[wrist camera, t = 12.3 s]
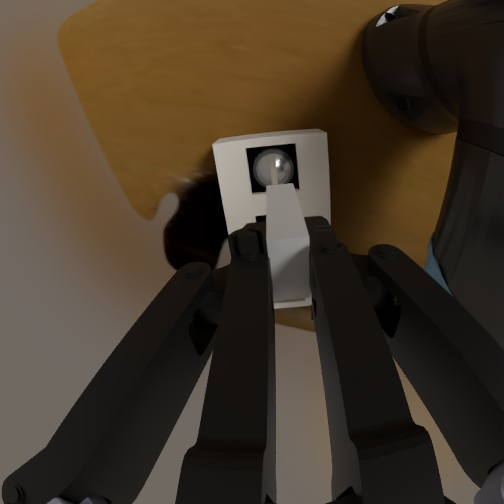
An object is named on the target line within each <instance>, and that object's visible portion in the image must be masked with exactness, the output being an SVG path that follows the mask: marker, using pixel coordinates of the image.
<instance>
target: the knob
mask: <svg viewBox="0 0 504 504" xmlns="http://www.w3.org/2000/svg"><path fill="white" fill-rule="evenodd" d="M293 173H294V166H293V163H292V161H291V158H290V156H289V154H288V152H287V151H286V150H285V149H284V148H283V147H281V146H279V145H271V146H263V147H261V148H260V149H259V150H258V151H257V153H256V155H255V159H254V165H253V174H254V177H255V179H256V180H257V182H258V183H259V184H260V185H262V186H264V187H266V186H268V185H278V184H288V183H289V181H290V180H291V178H292V176H293Z"/></svg>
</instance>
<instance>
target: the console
mask: <svg viewBox="0 0 504 504" xmlns="http://www.w3.org/2000/svg"><path fill="white" fill-rule="evenodd" d="M293 143H295V146H296V156H297V168H298V180H299V189H295V191H296V194H297V198H298V201H299V204H300V207H301V210H302V214H303V217H311V216H323V217H324V218H326V219H327V220H328V222H329V224H330V226H331V219H330V179H329V159H328V143H327V132H324V131H322V130H320V129H302V130H289V131H277V132H267V133H258V134H250V135H242V136H235V137H228V138H221V139H218V140H217V141H216V142H215V143H213V144H212V146H213V152H214V157H215V163H216V169H217V174H218V180H219V186H220V191H221V197H222V202H223V207H224V213H225V218H226V224H227V229H228V234H229V235H230V234H231V233H232V232H234V231H236V230H238V229H242V228H243V227H244V226H245V225H246V224H247V223H254V222H256V217H255V216H261V215H266V192H258V193H252V188H251V181H250V174H249V167H248V160H247V153H246V148H253V147H261V146H271V145H281V144H293ZM273 302H274V309H277V308H289V307H300V306H310V305H312V295H311V298H301V299H290V300H285V301H283V300H278V301H273Z"/></svg>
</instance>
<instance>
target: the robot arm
mask: <svg viewBox="0 0 504 504" xmlns="http://www.w3.org/2000/svg"><path fill="white" fill-rule="evenodd" d="M362 59H363V65H364V69H365V72H366V75H367V78H368V81H369V83H370V85H371V87H372V89H373V91H374V92H375V94H376V96H377V97H378V99H379V100H380V101H381V103H382V104H383V105H384V106H385V107H386V109H387V110H388V111H389V112H390V113H391V114H392V115H394V116H395V117H396V118H397V119H399V120H400V121H402V122H403V123H405V124H406V125H408V126H410V127H413V128H415V129H418V130H422V131H425V132H429V133H434V134H448V133H453V132H457V137H456V140H455V147H454V153H453V159H452V164H451V169H450V174H449V179H448V183H447V188H446V192H445V196H444V200H443V204H442V207H441V211H440V215H439V218H438V222H437V225H436V228H435V231H434V233H433V234H432V236H431V238H430V242H429V244H428V251H429V252H428V255H427V259H426V262H425V265H424V268H423V269H422V268H421V267H420V266H419V265H418V264H416V263H415V262H414V261H413V260H412V259H411V258H409V257H408V256H407V255H406V254H405V253H404V252H402V251H401V250H400V249H398V248H396V247H394V246H391V245H388V244H386V245H385V244H381V245H375V246H373V247H371V248H370V249H369V253H368V256H367V255H357V254H352V253H349V251H348V249H347V247H346V246H345V245H344V244H343V243H341V242H339V241H337V239H336V236H335V234H334V232H333V230H332V228H331V226H330V224H329V222H328V220H327V219H326V218H324V217H323V216H311V217H303V214H302V210H301V207H300V204H299V201H298V198H297V194H296V191H295V188H294V185H293V183H289V184H278V185H268V186H266V221H264V222H254V223H247V224H246V225H245V226H244V227H243V228H242V229H238V230H236V231H234V232H232V233H231V234H230V235H229V236H228V243H229V247H230V253H231V262H230V264H229V265H227V266H225V267H222V268H219V269H215V270H211V267H210V265H208V264H207V263H204V262H192V263H189V264H187V265H185V266H183V267H181V268H180V269H179V270H178V271H177V272H176V273H175V274H174V275H173V277H172V278H171V279H170V280H169V281H168V283H167V284H166V285H165V286H164V287H163V289H162V290H161V291H160V292H159V293H158V295H157V296H156V297H155V299H154V300H153V301H152V302H151V303H150V305H149V306H148V307H147V308H146V310H145V311H144V312H143V313H142V315H141V316H140V317H139V318H138V320H137V321H136V322H135V323H134V325H133V326H132V327H131V329H130V330H129V331H128V332H127V334H126V335H125V336H124V338H123V339H122V340H121V342H120V343H119V344H118V346H117V347H116V348H115V349H114V351H113V352H112V353H111V355H110V356H109V357H108V359H107V360H106V361H105V363H104V364H103V365H102V367H101V368H100V369H99V371H98V372H97V374H96V375H95V376H94V378H93V379H92V380H91V382H90V383H89V385H88V386H87V387H86V389H85V390H84V392H83V393H82V394H81V396H80V397H79V399H78V400H77V402H76V403H75V404H74V406H73V407H72V409H71V410H70V412H69V413H68V415H67V416H66V417H65V419H64V420H63V422H62V423H61V425H60V426H59V428H58V429H57V431H56V432H55V434H54V435H53V437H52V438H51V440H50V442H49V443H48V445H47V446H46V447H45V448H44V449H43V450H42V451H40V452H39V453H38V454H36V455H35V456H34V457H33V458H31V459H30V460H29V461H28V462H26V463H25V464H24V465H22V466H21V467H20V468H19V469H17V470H16V471H15V472H13V473H12V474H11V475H9V476H8V477H7V478H6V479H5V481H4V482H3V486H2V499H3V502H4V504H132V503H133V502H134V501H135V499H136V498H137V496H138V494H139V493H140V491H141V490H142V488H143V486H144V484H145V482H146V480H147V479H148V477H149V475H150V473H151V471H152V469H153V467H154V465H155V463H156V461H157V459H158V457H159V455H160V454H161V451H162V450H163V448H164V446H165V443H166V442H167V440H168V438H169V436H170V434H171V432H172V430H173V428H174V426H175V424H176V422H177V420H178V418H179V416H180V414H181V413H182V411H183V409H184V407H185V405H186V403H187V401H188V399H189V397H190V395H191V393H192V391H193V389H194V387H195V385H196V383H197V381H198V379H199V377H200V375H201V373H202V371H203V369H204V367H205V365H206V363H207V361H208V359H209V357H210V355H211V353H212V351H213V355H212V360H211V365H210V371H209V376H208V382H207V387H206V393H205V399H204V404H203V410H202V416H201V421H200V427H199V433H198V438H197V442H196V444H195V445H194V446H193V447H191V448H189V449H188V450H187V452H186V454H185V456H184V459H183V463H182V467H181V473H180V478H179V484H178V490H177V497H176V502H175V504H276V470H275V469H276V377H275V376H276V372H275V316H274V302H273V301H278V300H290V299H301V298H311V295H312V317H311V320H314V323H315V329H316V335H317V342H318V348H319V354H320V361H321V368H322V376H323V383H324V390H325V399H326V407H327V416H328V425H329V434H330V444H331V455H332V465H333V466H332V467H333V470H332V502H329V503H326V504H456V503H455V502H453V501H452V500H450V499H448V498H447V497H446V496H444V495H443V489H442V484H441V479H440V474H439V469H438V465H437V460H436V456H435V452H434V448H433V444H432V441H431V438H430V435H429V433H428V431H426V429H425V428H424V427H423V426H420V425H416V424H415V423H414V421H413V419H412V417H411V413H410V410H409V407H408V403H407V400H406V396H405V393H404V390H403V387H402V384H401V380H400V378H399V375H398V371H397V369H396V366H395V363H394V360H393V358H394V359H395V361H396V362H397V364H398V365H399V366H400V368H401V369H402V371H403V372H404V374H405V375H406V377H407V378H408V380H409V381H410V383H411V384H412V386H413V388H414V389H415V391H416V392H417V394H418V395H419V397H420V399H421V400H422V402H423V403H424V405H425V406H426V408H427V409H428V411H429V413H430V414H431V416H432V418H433V419H434V421H435V423H436V424H437V426H438V428H439V429H440V431H441V433H442V434H443V436H444V438H445V439H446V441H447V443H448V445H449V446H450V448H451V450H452V452H453V453H454V455H455V457H456V459H457V460H458V462H459V464H460V465H461V467H462V468H463V470H464V472H465V473H466V474H467V475H468V476H469V478H470V479H471V480H472V481H473V482H474V483H475V484H476V485H477V486H478V487H480V488H481V490H480V491H478V492H477V494H476V495H475V498H474V504H504V0H448V1H446V2H443V3H441V4H438V5H436V6H432V5H420V4H401V5H396V6H393V7H390V8H388V9H386V10H385V11H383V12H382V13H380V14H379V15H377V16H376V17H375V18H374V19H373V20H372V21H371V22H370V24H369V25H368V27H367V29H366V31H365V34H364V37H363V42H362ZM395 298H396V299H397V300H398V302H399V304H398V303H397V301H396V300H395ZM392 356H393V357H392Z"/></svg>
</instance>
